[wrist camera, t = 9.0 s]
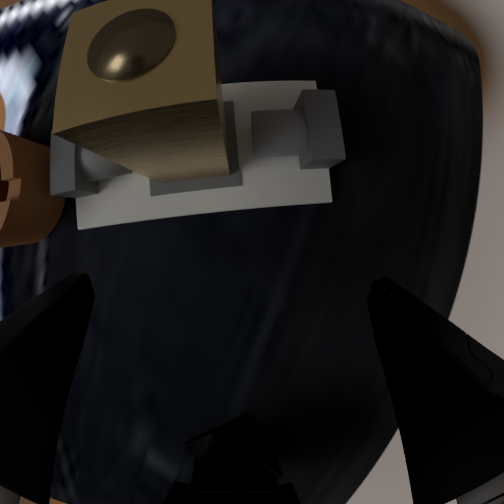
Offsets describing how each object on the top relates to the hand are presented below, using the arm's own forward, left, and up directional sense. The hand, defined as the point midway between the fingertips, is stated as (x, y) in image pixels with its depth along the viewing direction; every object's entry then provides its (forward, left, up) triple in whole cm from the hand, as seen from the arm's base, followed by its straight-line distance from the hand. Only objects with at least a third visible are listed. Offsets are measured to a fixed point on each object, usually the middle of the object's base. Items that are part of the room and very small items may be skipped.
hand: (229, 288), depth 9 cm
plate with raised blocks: (+2, +7, -12) cm, 14 cm away
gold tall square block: (+2, +7, -11) cm, 13 cm away
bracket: (-16, +16, -12) cm, 26 cm away
